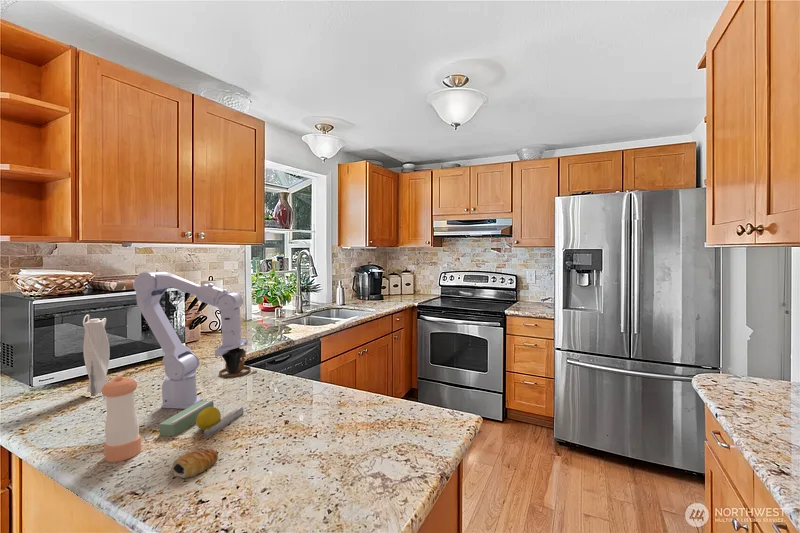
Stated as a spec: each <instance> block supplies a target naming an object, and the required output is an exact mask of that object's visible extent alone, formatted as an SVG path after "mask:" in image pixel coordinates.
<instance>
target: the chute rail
mask: <svg viewBox="0 0 800 533" xmlns="http://www.w3.org/2000/svg"><path fill="white" fill-rule="evenodd" d="M242 414H244V406H242V405H241V406H238V407H237V408H235V409H234V410H232V411H231V412H229V413H228V414H226V415H225V416H224V417H222V418H220V420H219V421H218V422H216V423H215V424H213V425H212V426H210V427H209V428H207V429H206V430H203V438H204V439H209V438H211V437H212V436H213V435H215V434H217V432H219V431H221V430H222V429H223V428H224V427H226V426H227V425H229V424H230V423H231V422H233V421H234V420H236V419H237V418H238V417H241V415H242Z"/></svg>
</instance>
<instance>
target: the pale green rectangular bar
mask: <svg viewBox="0 0 800 533" xmlns="http://www.w3.org/2000/svg"><path fill="white" fill-rule="evenodd" d="M208 407H215V406H214V399H210V400H208V401H207V400H205V401H204V400H202V401H199V402H198V403H196V404H194V405H192V406H190V407H189V408H187V409H183V410H182V411H180V412H178V413H176V414H175V415H173V416H171V417H169V418H168V419H165V420H164V421H162V422H160V423H159V426H158V428H159V435H160V436H167V437H168V436H169V437H171V436H172V437H175V436H177V435H178V434H180V433H181V431H182V432H183V431H185V430H186V429H188V428H189V427H191V426H192V424H193V425H195V424H196V423H195V422H196V419H197V416H198V415H199V413H200V412H201V411H202V410H204V409H205V408H208ZM176 434H177V435H176Z"/></svg>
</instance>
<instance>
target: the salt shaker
mask: <svg viewBox="0 0 800 533" xmlns="http://www.w3.org/2000/svg"><path fill="white" fill-rule="evenodd" d="M137 388H138V382H137V381H136V380H135V379H134V378H132V377H123V376H122V375H117V376H116V377H115V379H112V380H110V381H109V380H108V383H106V384H105V385H104V386H103V388H102V391H101V392H102V394H103V395H104V396H103V397H105V401H106V419H105V426H104V433H105V435H104V436H105V443H104V445H103V447H104V460H105V461H106V462H109V463H115V462H116V463H117V462H121V461H126V460H129V459H131V458H133V457H135V456H137V455H139V454H140V453H141V452H142V435H141V434H140V430H139V429H140V428H139V420H138V419H139V418H138V415H137V411H136V406H135V403H136V402H135V393H134V392H135V391H136V389H137Z"/></svg>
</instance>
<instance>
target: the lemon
mask: <svg viewBox="0 0 800 533" xmlns="http://www.w3.org/2000/svg"><path fill="white" fill-rule="evenodd" d="M220 419H221V411H220V409H219V408H217V407H215V406H214V407H208V408H205V409H204V410H202V411H201V412H200V413H199V415H198V416H197V419H196V423H195V425H196V426H197V428H198V429H199V430H202V431H204V430H206V429H207V428H209V427H210V426H212V425H213V424H215V423H216V422H218V421H219V420H220Z"/></svg>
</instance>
